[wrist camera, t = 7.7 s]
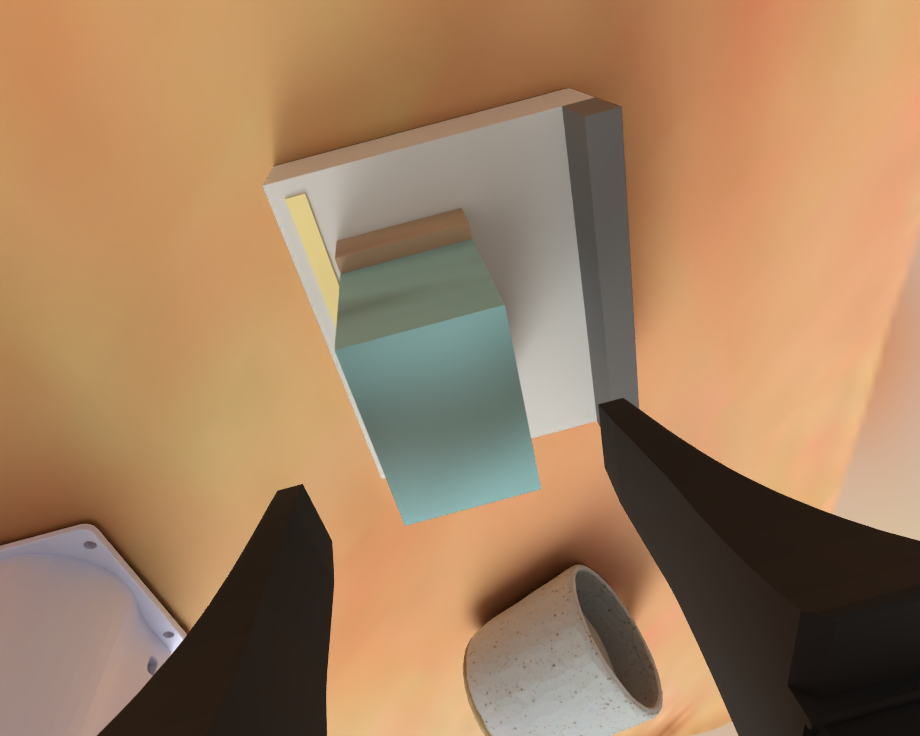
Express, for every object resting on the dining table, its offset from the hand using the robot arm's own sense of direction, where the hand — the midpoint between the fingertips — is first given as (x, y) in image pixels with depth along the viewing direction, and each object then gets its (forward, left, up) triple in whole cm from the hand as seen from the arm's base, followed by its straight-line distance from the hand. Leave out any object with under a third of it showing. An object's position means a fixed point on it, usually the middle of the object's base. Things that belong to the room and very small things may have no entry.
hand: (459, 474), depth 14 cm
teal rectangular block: (0, 0, -7) cm, 7 cm away
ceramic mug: (-22, -3, -10) cm, 24 cm away
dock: (0, -2, -10) cm, 10 cm away
